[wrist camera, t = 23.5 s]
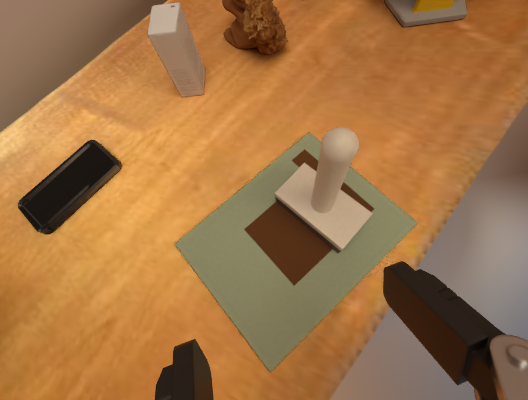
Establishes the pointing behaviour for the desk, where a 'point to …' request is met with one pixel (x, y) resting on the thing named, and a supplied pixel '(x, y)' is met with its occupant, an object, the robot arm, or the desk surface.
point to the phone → (68, 187)
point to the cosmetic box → (177, 48)
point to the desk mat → (286, 255)
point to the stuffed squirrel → (255, 25)
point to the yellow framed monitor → (426, 11)
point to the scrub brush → (326, 192)
